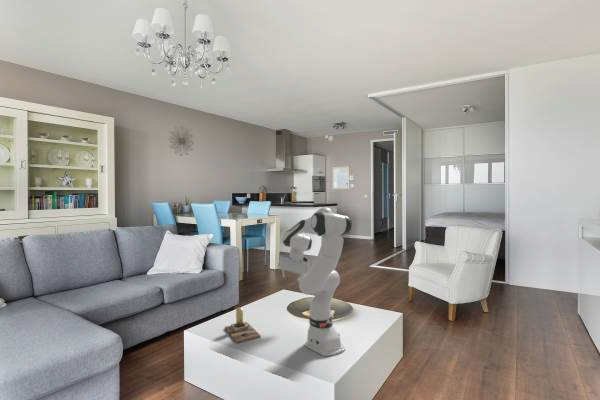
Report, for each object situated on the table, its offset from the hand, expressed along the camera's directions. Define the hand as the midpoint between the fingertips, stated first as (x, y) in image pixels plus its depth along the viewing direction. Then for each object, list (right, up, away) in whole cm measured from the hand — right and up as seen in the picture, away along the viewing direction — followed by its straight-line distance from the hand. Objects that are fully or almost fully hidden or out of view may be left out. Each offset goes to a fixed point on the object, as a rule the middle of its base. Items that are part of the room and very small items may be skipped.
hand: (290, 278), depth 210 cm
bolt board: (-28, -29, -13) cm, 42 cm away
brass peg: (-30, -27, -10) cm, 42 cm away
